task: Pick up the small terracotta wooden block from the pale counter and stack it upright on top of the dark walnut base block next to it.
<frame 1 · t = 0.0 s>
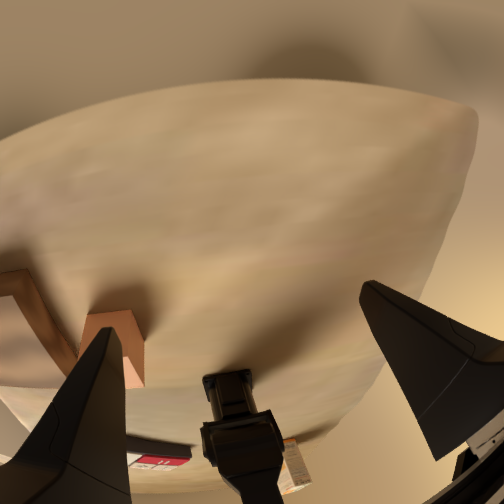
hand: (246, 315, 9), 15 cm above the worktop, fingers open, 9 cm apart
supplement box: (280, 444, 58), on the worktop
red white black box: (147, 446, 46), on the worktop
terracotta block: (116, 328, 27), on the worktop
walnut base: (10, 325, 23), on the worktop
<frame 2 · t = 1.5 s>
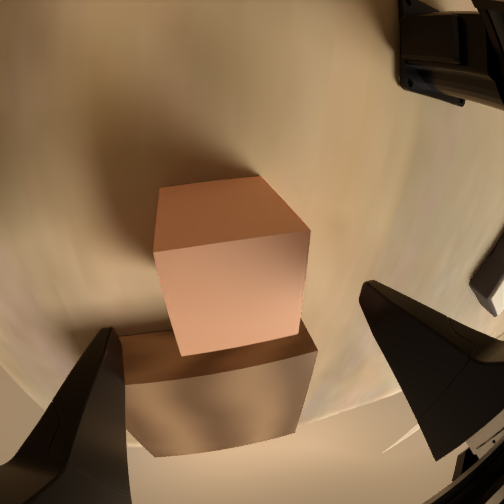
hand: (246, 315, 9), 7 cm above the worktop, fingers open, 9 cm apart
red white black box: (503, 250, 27), on the worktop
terracotta block: (214, 226, 15), on the worktop
walnut base: (207, 381, 22), on the worktop
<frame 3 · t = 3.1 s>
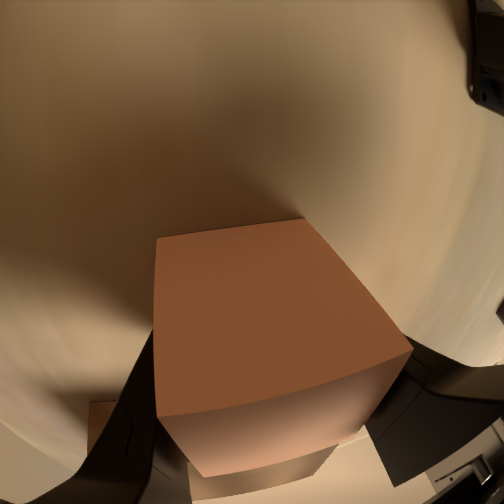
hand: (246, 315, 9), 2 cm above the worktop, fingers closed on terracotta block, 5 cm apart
terracotta block: (236, 287, 11), on the worktop, touching gripper
walnut base: (220, 435, 18), on the worktop
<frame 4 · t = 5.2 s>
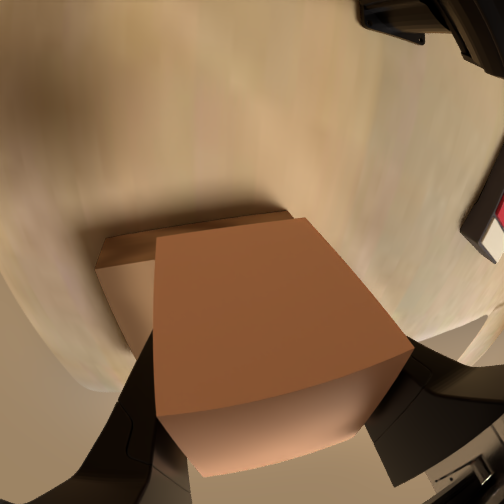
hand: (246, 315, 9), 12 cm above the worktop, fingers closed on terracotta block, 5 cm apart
red white black box: (493, 198, 29), on the worktop
terracotta block: (236, 286, 11), point 11 cm above the worktop, touching gripper
walnut base: (207, 295, 25), on the worktop
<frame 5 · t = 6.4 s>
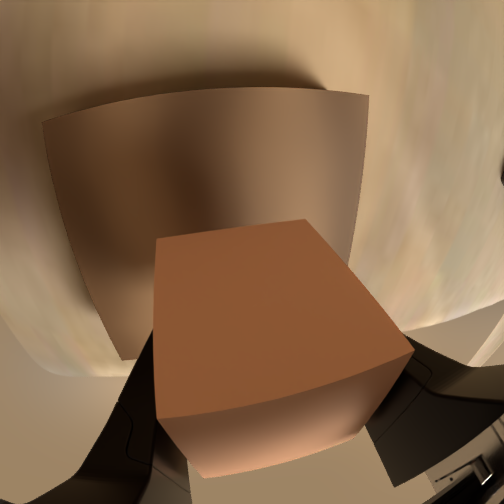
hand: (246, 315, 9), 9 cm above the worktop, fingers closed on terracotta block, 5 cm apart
terracotta block: (236, 287, 11), point 7 cm above the worktop, touching gripper
walnut base: (211, 212, 17), on the worktop
when the fingers open (7 cm above the worktop, at t = 7.5 s): terracotta block drops 1 cm, resting on walnut base.
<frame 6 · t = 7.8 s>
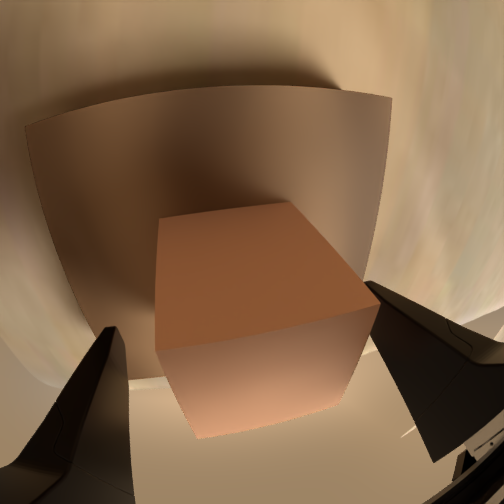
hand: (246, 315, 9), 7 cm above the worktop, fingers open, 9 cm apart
terracotta block: (230, 264, 12), point 4 cm above the worktop, touching walnut base
walnut base: (215, 223, 15), on the worktop
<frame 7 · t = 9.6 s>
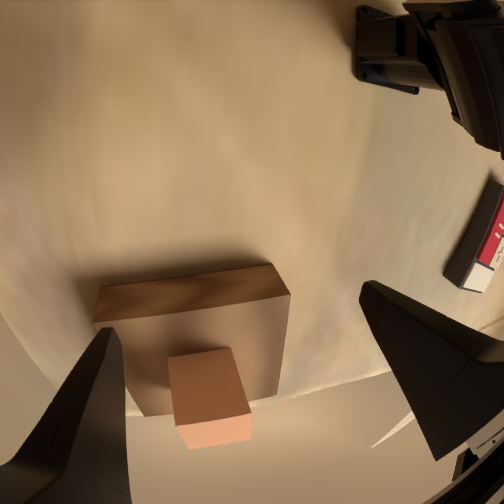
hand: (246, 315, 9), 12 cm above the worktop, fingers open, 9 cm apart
red white black box: (477, 234, 32), on the worktop
terracotta block: (202, 371, 22), point 4 cm above the worktop, touching walnut base
walnut base: (196, 337, 25), on the worktop
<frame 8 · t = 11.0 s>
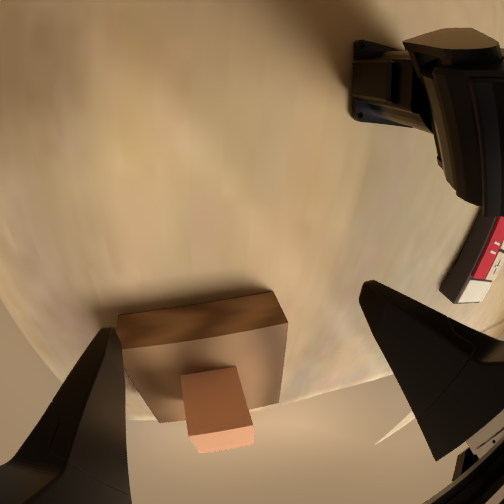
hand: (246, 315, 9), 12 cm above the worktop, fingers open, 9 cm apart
red white black box: (475, 248, 33), on the worktop
terracotta block: (211, 385, 25), point 4 cm above the worktop, touching walnut base
walnut base: (205, 353, 28), on the worktop
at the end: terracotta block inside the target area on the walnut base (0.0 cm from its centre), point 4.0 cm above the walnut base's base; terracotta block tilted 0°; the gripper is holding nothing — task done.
